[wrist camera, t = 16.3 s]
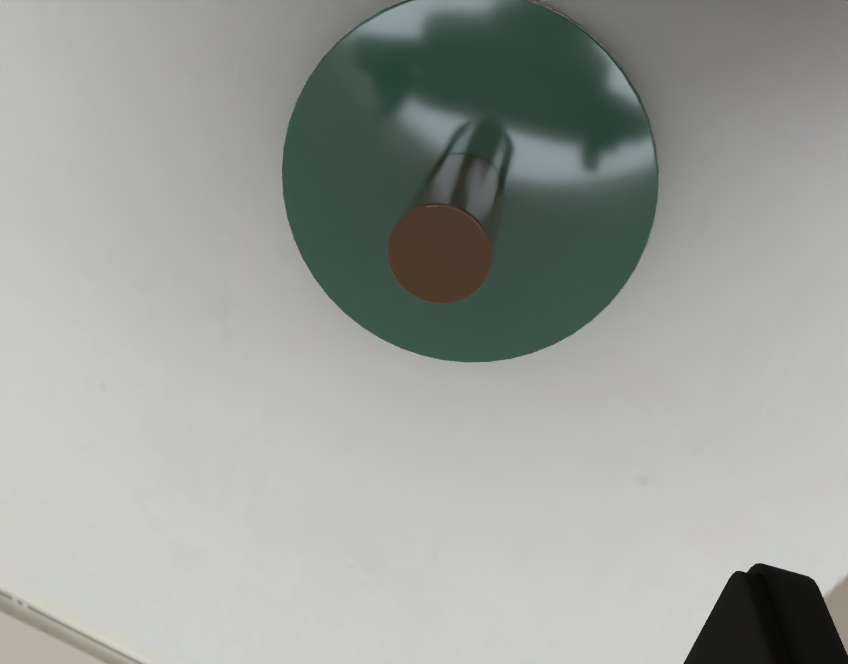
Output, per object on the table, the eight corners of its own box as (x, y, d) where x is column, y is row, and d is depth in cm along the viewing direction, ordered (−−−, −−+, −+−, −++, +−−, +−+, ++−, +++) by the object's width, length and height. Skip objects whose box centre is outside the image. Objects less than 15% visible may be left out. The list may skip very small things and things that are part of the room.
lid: (713, 44, 21) (769, 76, 15) (585, 383, 25) (593, 501, 20) (325, -56, 21) (241, -60, 15) (271, 296, 26) (192, 389, 20)
